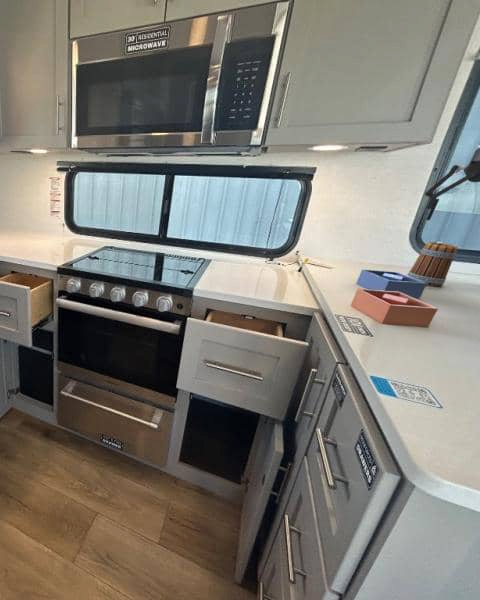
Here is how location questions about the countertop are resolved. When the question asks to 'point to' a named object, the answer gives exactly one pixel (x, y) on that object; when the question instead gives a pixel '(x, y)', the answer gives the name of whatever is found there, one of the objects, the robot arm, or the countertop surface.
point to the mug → (433, 263)
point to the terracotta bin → (393, 308)
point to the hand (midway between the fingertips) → (458, 223)
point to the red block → (394, 299)
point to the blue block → (392, 277)
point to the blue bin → (391, 283)
